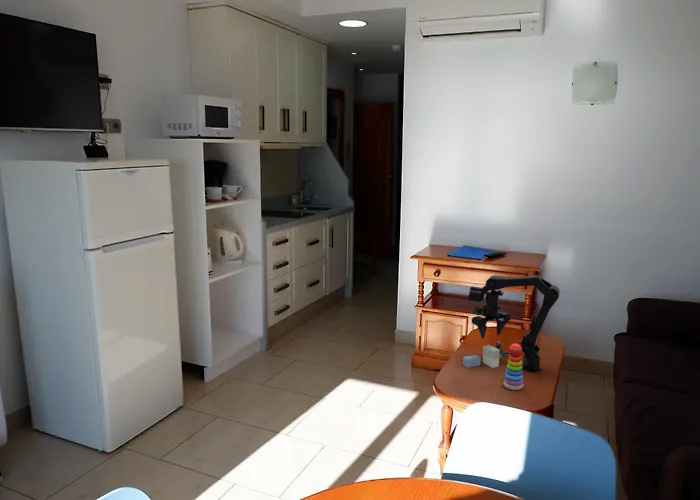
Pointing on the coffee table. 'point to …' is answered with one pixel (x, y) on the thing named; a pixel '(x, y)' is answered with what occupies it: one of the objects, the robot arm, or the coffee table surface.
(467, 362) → the slate brick
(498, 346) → the stuffed animal
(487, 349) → the sage brick
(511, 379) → the stacking toy
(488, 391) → the coffee table surface
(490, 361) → the cream brick
